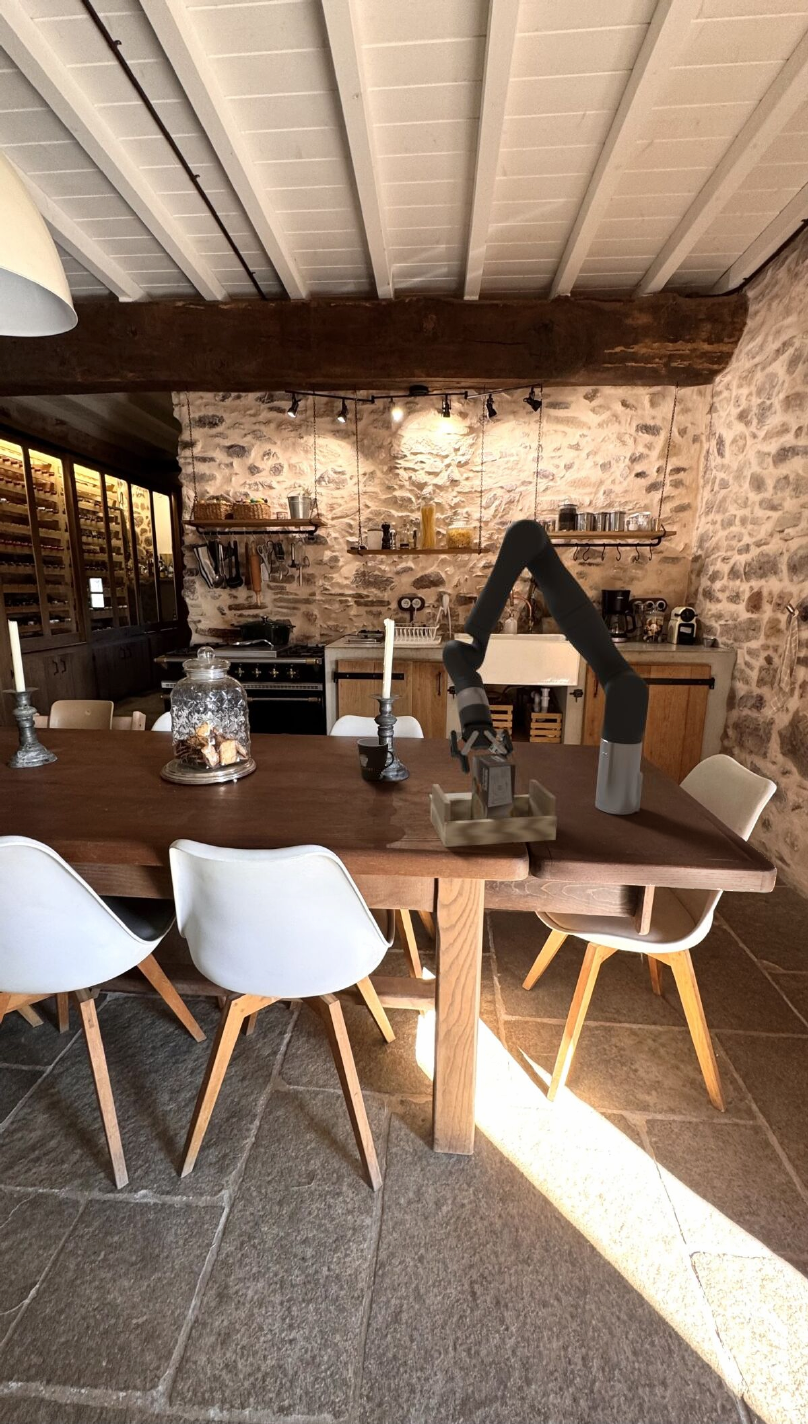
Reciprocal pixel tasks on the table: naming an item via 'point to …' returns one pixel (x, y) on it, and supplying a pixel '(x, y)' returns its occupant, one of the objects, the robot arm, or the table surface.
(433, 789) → the wooden crate
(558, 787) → the table surface
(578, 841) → the table surface
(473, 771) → the coffee box
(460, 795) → the white mat
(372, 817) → the table surface
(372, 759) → the coffee mug
